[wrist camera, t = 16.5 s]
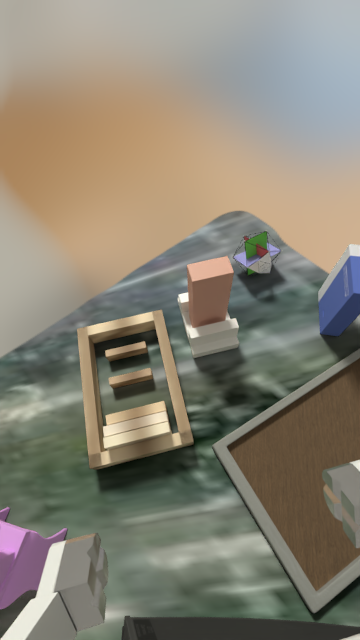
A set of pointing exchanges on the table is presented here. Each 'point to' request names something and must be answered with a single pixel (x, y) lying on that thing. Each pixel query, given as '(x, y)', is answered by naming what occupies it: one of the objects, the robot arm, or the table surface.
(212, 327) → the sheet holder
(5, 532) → the toy chair
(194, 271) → the salmon pink brick
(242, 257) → the geometric puzzle
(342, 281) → the walkman
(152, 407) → the offcut rack
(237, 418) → the table surface
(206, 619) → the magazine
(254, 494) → the framed brown board
